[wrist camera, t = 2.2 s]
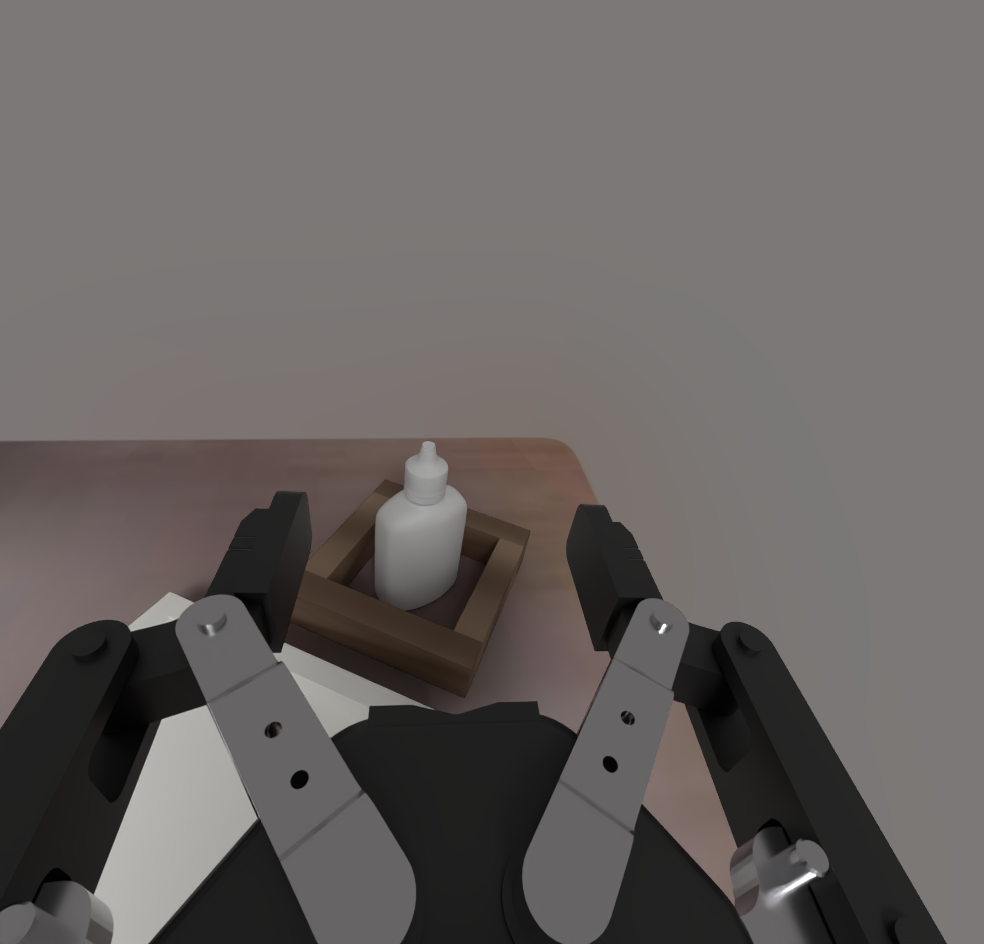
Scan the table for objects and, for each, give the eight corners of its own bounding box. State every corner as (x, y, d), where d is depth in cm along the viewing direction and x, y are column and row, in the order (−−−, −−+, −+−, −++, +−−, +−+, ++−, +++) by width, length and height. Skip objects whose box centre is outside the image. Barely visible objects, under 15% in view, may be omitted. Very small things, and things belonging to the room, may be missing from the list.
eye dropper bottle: (376, 563, 34) (378, 420, 27) (454, 563, 35) (475, 426, 28) (372, 615, 31) (373, 466, 24) (459, 613, 32) (484, 471, 25)
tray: (217, 1242, 13) (199, 1258, 12) (-183, 945, 17) (-236, 930, 15) (438, 736, 25) (442, 713, 24) (180, 618, 28) (169, 591, 27)
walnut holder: (464, 698, 27) (471, 669, 25) (286, 620, 29) (280, 589, 28) (522, 558, 37) (530, 530, 35) (384, 508, 39) (385, 479, 37)
